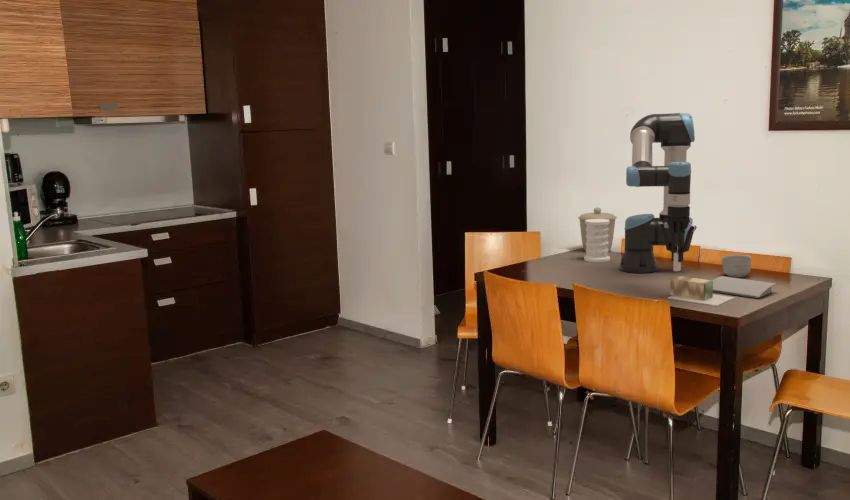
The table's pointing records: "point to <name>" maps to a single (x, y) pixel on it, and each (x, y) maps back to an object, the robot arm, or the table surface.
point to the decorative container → (597, 240)
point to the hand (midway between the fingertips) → (677, 270)
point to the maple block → (691, 287)
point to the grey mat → (713, 301)
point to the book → (741, 287)
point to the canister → (597, 216)
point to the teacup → (736, 265)
